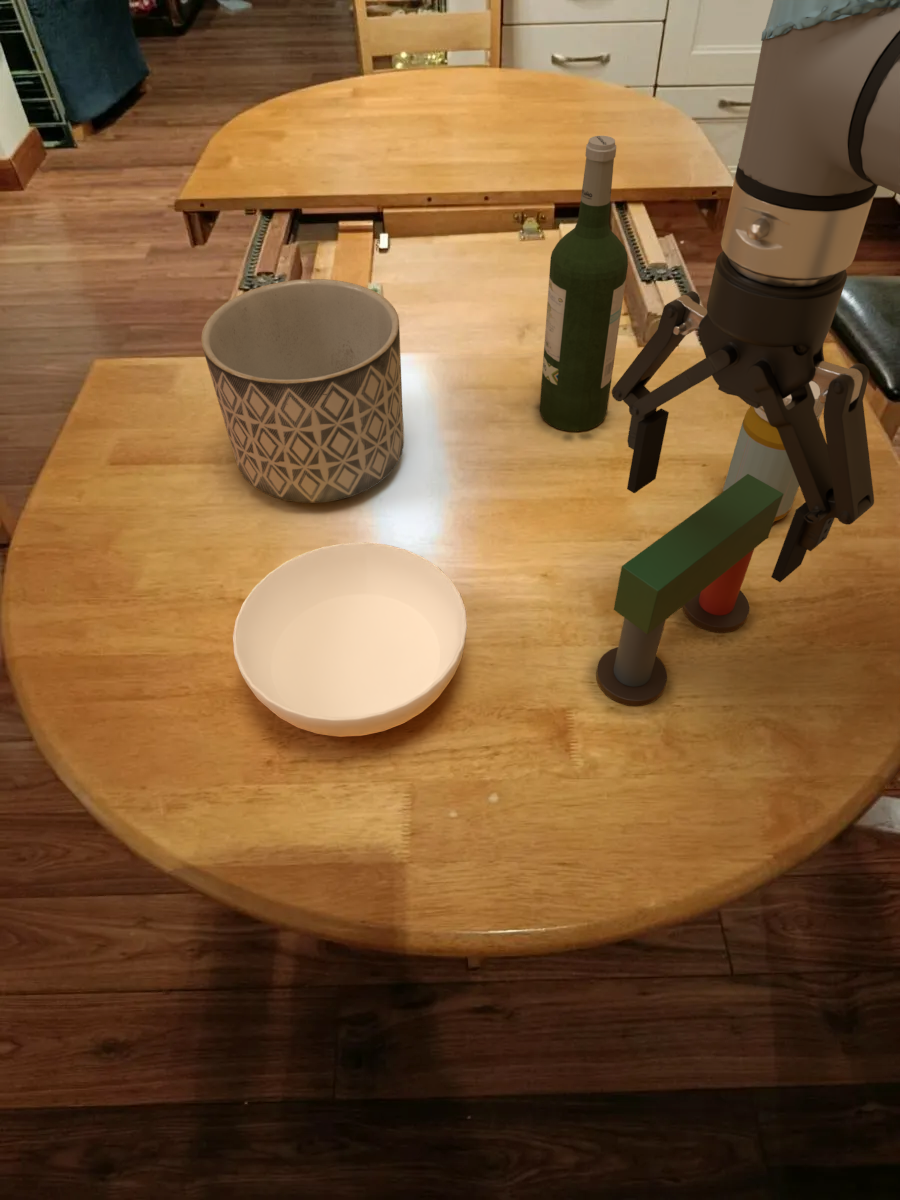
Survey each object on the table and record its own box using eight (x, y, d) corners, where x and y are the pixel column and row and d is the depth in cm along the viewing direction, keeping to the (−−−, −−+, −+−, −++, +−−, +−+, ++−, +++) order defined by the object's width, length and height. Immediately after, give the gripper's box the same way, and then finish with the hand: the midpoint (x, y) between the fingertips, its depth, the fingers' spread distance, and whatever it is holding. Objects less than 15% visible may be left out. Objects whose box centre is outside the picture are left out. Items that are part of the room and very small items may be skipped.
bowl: (223, 758, 69) (206, 715, 65) (271, 584, 82) (259, 538, 78) (462, 768, 68) (461, 725, 64) (471, 590, 81) (472, 544, 77)
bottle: (750, 535, 86) (793, 411, 75) (706, 495, 90) (740, 372, 79) (803, 513, 88) (852, 390, 77) (758, 475, 92) (798, 352, 81)
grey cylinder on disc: (679, 679, 74) (701, 611, 67) (635, 718, 71) (652, 651, 64) (626, 640, 77) (641, 571, 70) (581, 676, 74) (593, 608, 68)
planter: (433, 488, 91) (428, 353, 79) (259, 537, 87) (224, 402, 74) (375, 394, 103) (363, 264, 91) (219, 433, 99) (184, 301, 86)
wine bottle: (535, 395, 103) (553, 126, 80) (599, 391, 103) (635, 123, 81) (543, 434, 97) (565, 159, 75) (612, 431, 98) (654, 155, 75)
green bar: (768, 538, 73) (784, 493, 69) (647, 634, 66) (658, 591, 62) (733, 517, 74) (747, 473, 71) (613, 609, 67) (621, 565, 64)
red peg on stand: (760, 609, 79) (787, 540, 72) (721, 643, 76) (745, 574, 70) (707, 575, 82) (729, 505, 75) (668, 606, 79) (686, 537, 73)
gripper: (582, 213, 55) (558, 471, 70) (958, 366, 42) (827, 641, 58) (656, 180, 58) (618, 434, 74) (1026, 313, 45) (884, 586, 61)
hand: (709, 525), depth 66 cm, fingers open, 13 cm apart
